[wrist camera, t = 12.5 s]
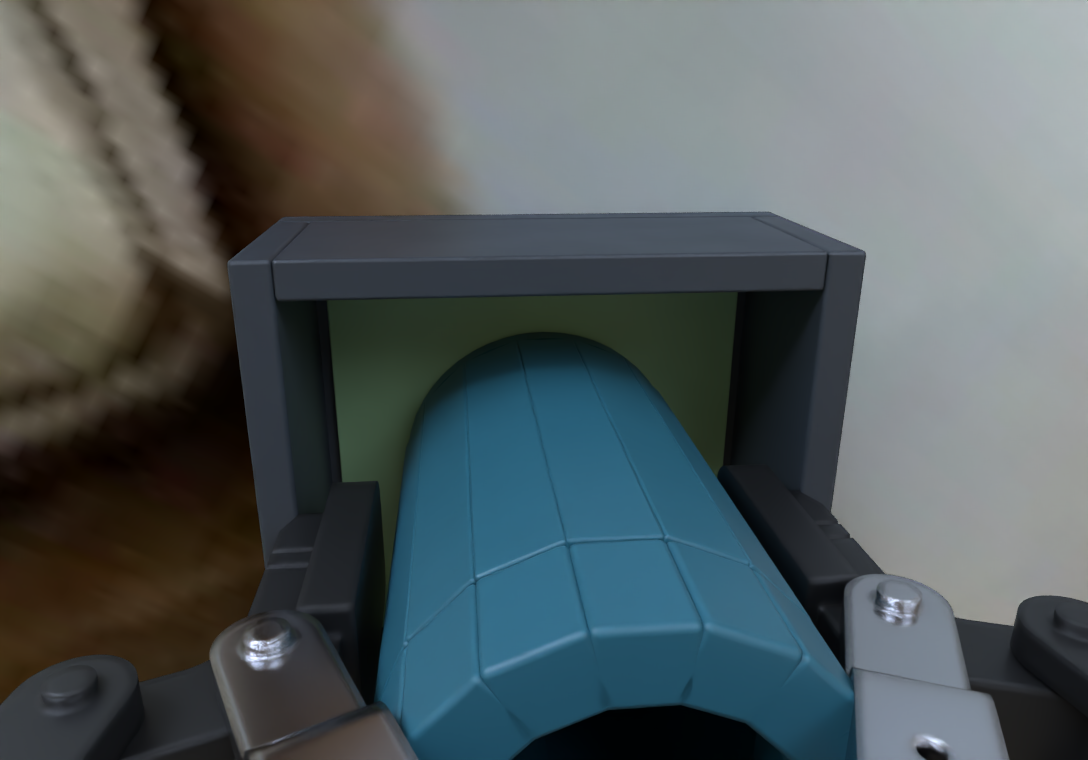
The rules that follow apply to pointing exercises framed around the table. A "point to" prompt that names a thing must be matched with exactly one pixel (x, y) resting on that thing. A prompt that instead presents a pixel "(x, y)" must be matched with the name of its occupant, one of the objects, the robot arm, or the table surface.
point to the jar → (587, 580)
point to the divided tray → (537, 306)
